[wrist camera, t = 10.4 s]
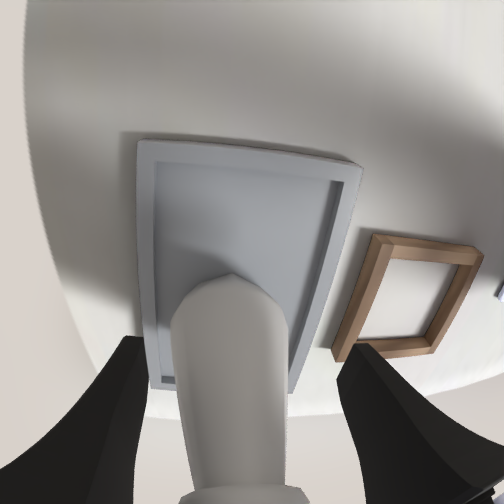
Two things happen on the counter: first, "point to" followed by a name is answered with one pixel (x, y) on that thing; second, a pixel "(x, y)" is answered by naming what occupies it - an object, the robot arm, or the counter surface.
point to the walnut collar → (371, 280)
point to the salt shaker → (233, 393)
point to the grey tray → (238, 234)
